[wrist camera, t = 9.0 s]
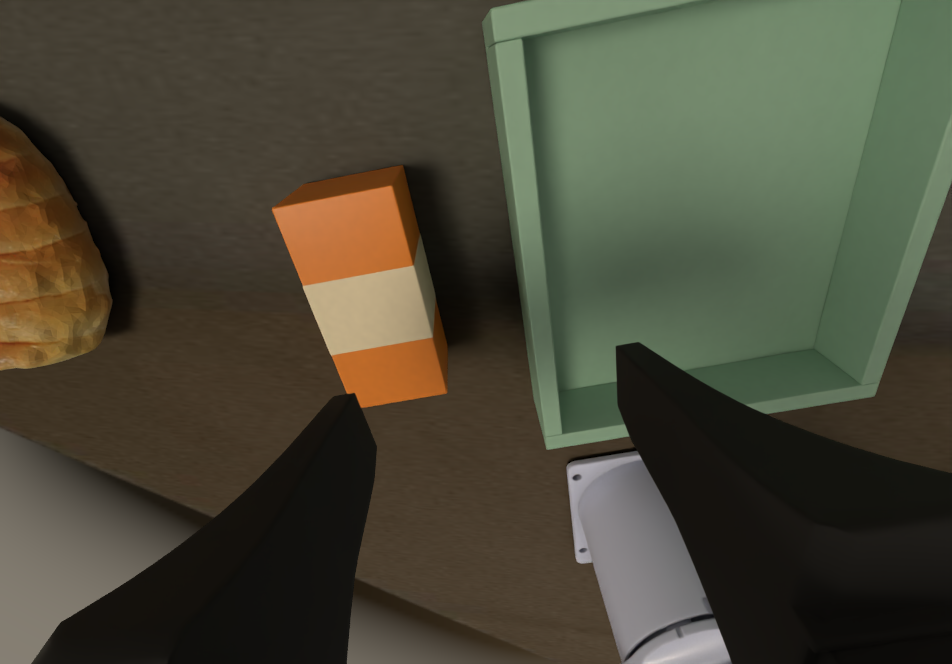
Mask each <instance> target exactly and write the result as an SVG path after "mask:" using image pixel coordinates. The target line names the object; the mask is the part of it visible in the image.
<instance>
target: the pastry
mask: <svg viewBox="0 0 952 664" xmlns="http://www.w3.org/2000/svg"><path fill="white" fill-rule="evenodd" d="M108 278H109V274H108V272H107V270H106V267H105V265H104V263H103V261H102V259H101V256H100V252H99V250H98V248H97V247H96V246H95V244H94V242H93V240H92V236H91V234H90V231H89V229H88V226H87V222H86V221H84V220H83V218H82V217H81V215H80V213H79V211H78V209H77V203H76V202H75V201H74V200H73V198H72V196H71V194H70V192H69V190H68V188H67V186H66V184H65V183H64V181H63V179H62V178H61V177H60V176H59V174H58V173H57V171H56V170H55V168H54V167H53V165H52V163H51V162H50V161H49V160H48V159H46V158H45V157H44V156H43V155H42V154H41V153H40V152H39V150H38V149H37V148H36V147H35V146H34V145H33V144H32V142H31V141H30V140H29V139H28V137H27V136H26V135H25V133H23V132H22V131H21V130H20V129H19V128H18V127H16V126H15V125H13V124H11V123H10V122H8V121H7V120H5V119H3V118H2V117H0V370H5V369H11V368H25V369H28V368H34V367H40V366H44V365H49V364H53V363H58V362H61V361H65V360H68V359H70V358H73V357H76V356H79V355H82V354H85V353H88V352H90V351H92V350H94V349H96V348H97V347H98V345H99V344H100V342H101V341H102V339H103V336H104V334H105V330H106V326H107V322H108V317H109V314H110V310H111V306H112V301H113V300H112V298H111V294H110V291H109V284H108Z"/></svg>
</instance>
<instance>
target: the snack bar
mask: <svg viewBox="0 0 952 664" xmlns="http://www.w3.org/2000/svg"><path fill="white" fill-rule="evenodd" d="M272 211H273V214H274V216H275V219H276V221H277V223H278V226H279V228H280V231H281V233H282V236H283V238H284V241H285V243H286V245H287V248H288V250H289V253H290V255H291V258H292V260H293V263H294V265H295V267H296V270H297V272H298V275H299V277H300V280H301V282H302V284H303V289H304V292H305V294H306V296H307V299H308V301H309V304H310V306H311V309H312V311H313V313H314V316H315V318H316V321H317V323H318V326H319V328H320V331H321V333H322V335H323V338H324V340H325V343H326V345H327V348H328V350H329V352H330V355H332V358H333V360H334V363H335V365H336V368H337V370H338V372H339V375H340V377H341V380H342V382H343V385H344V387H345V389H346V392H347V394H350V393H355V394H356V397H357V399H358V402H359V404H360V406H361V408H364V407H370V406H376V405H382V404H388V403H394V402H400V401H405V400H411V399H417V398H423V397H429V396H435V395H441V394H446V393H447V373H448V346H447V342H446V338H445V334H444V330H443V326H442V321H441V317H440V313H439V309H438V305H437V301H436V295H435V291H434V287H433V283H432V279H431V275H430V271H429V267H428V262H427V258H426V254H425V250H424V246H423V242H422V238H421V234H420V232H419V228H418V224H417V220H416V216H415V212H414V208H413V204H412V200H411V196H410V192H409V188H408V184H407V179H406V175H405V171H404V167H403V165H399V166H394V167H389V168H384V169H379V170H374V171H369V172H363V173H358V174H353V175H348V176H343V177H338V178H333V179H328V180H322V181H317V182H312V183H307V184H303V185H302V186H301V187H299V188H298V189H297V190H295V191H294V192H293V193H292V194H290V195H289V196H288V197H286V198H285V199H284V200H282V201H281V202H280V203H278V204H277V205H276V206H274V207H273V208H272Z"/></svg>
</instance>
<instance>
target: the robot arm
mask: <svg viewBox="0 0 952 664" xmlns="http://www.w3.org/2000/svg"><path fill="white" fill-rule="evenodd" d="M616 376H617V405H618V408H619V410H620V413H621V416H622V418H623V421H624V424H625V426H626V429H627V431H628V434H629V436H630V438H631V440H632V442H633V444H634V446H635V448H636V449H637V451H632V452H626V453H620V454H614V455H608V456H601V457H595V458H589V459H583V460H577V461H572V462H570V463H569V464H568V465H567V478H568V488H569V498H570V508H571V518H572V528H573V538H574V548H575V557H576V560H577V562H579V563H590V562H593V565H594V569H595V572H596V576H597V579H598V582H599V586H600V589H601V593H602V596H603V600H604V603H605V607H606V610H607V614H608V617H609V620H610V624H611V627H612V631H613V634H614V638H615V641H616V645H617V648H618V651H619V655H620V658H621V662H622V663H621V664H952V473H948V472H944V471H940V470H936V469H932V468H928V467H924V466H920V465H915V464H911V463H907V462H903V461H899V460H896V459H892V458H889V457H885V456H882V455H878V454H875V453H872V452H868V451H865V450H862V449H858V448H855V447H852V446H849V445H846V444H843V443H840V442H837V441H833V440H831V439H828V438H825V437H822V436H819V435H817V434H814V433H811V432H809V431H806V430H803V429H800V428H798V427H795V426H793V425H790V424H788V423H785V422H783V421H780V420H778V419H776V418H773V417H771V416H769V415H767V414H764V413H762V412H760V411H758V410H755V409H753V408H751V407H749V406H747V405H745V404H743V403H741V402H738V401H736V400H735V399H733V398H731V397H729V396H727V395H725V394H723V393H721V392H719V391H718V390H716V389H714V388H712V387H710V386H709V385H707V384H705V383H703V382H702V381H700V380H698V379H696V378H695V377H693V376H691V375H690V374H688V373H687V372H685V371H683V370H682V369H680V368H678V367H677V366H675V365H674V364H672V363H671V362H669V361H668V360H666V359H664V358H663V357H661V356H660V355H658V354H657V353H655V352H654V351H652V350H651V349H649V348H648V347H646V346H644V345H643V344H641V343H640V342H635V343H629V344H624V345H618V346H616ZM376 451H377V446H376V443H375V441H374V438H373V436H372V433H371V431H370V429H369V426H368V424H367V421H366V419H365V416H364V414H363V411H362V409H361V406H360V404H359V402H358V399H357V397H356V394H355V393H350V394H345V395H339V396H334V397H333V398H332V399H331V400H330V401H329V402H328V403H327V404H326V405H325V406H324V407H323V408H322V410H321V411H320V412H319V413H318V414H317V415H316V416H315V418H314V419H313V420H312V421H311V422H310V423H309V424H308V426H307V427H306V428H305V429H304V430H303V431H302V432H301V434H300V435H299V436H298V437H297V438H296V439H295V440H294V441H293V443H292V444H291V445H290V446H289V447H288V448H287V449H286V450H285V451H284V452H283V453H282V455H281V456H280V457H279V458H278V459H277V460H276V461H275V462H274V463H273V464H272V465H271V466H270V467H269V468H268V469H267V470H266V471H265V472H264V473H263V474H262V475H261V476H260V477H259V478H258V479H257V480H256V481H255V482H254V483H253V484H252V485H251V486H250V487H249V488H248V489H247V490H246V491H245V492H244V493H243V494H241V495H240V496H239V497H238V498H237V499H236V500H235V501H234V502H232V503H231V504H230V505H229V506H228V507H227V508H226V509H225V510H223V511H222V512H221V513H220V514H219V515H217V516H216V517H215V518H214V519H212V520H211V521H210V522H209V523H207V524H206V525H205V526H203V527H202V528H201V529H200V530H198V531H197V532H196V533H195V534H193V535H192V536H191V537H190V538H188V539H187V540H186V541H185V542H183V543H182V544H181V545H179V546H178V547H176V548H175V549H174V550H172V551H171V552H170V553H168V554H167V555H165V556H164V557H163V558H161V559H160V560H158V561H157V562H156V563H154V564H153V565H151V566H150V567H148V568H147V569H145V570H144V571H142V572H141V573H139V574H138V575H136V576H135V577H134V578H132V579H131V580H129V581H127V582H126V583H124V584H123V585H121V586H120V587H118V588H116V589H115V590H113V591H112V592H110V593H108V594H107V595H105V596H103V597H102V598H100V599H99V600H97V601H95V602H94V603H92V604H90V605H89V606H87V607H86V608H84V609H82V610H81V611H79V612H77V613H76V614H74V615H73V616H71V617H69V618H67V619H66V620H64V621H62V622H61V623H60V624H59V625H58V627H57V628H56V630H55V631H54V633H53V634H52V635H51V637H50V638H49V639H48V641H47V642H46V644H45V645H44V647H43V648H42V649H41V651H40V652H39V654H38V655H37V657H36V658H35V659H34V661H33V662H32V664H347V651H348V639H349V628H350V616H351V607H352V597H353V589H354V580H355V572H356V566H357V560H358V555H359V550H360V546H361V541H362V536H363V532H364V527H365V523H366V518H367V513H368V509H369V504H370V499H371V494H372V489H373V484H374V478H375V467H376ZM577 474H578V475H577Z"/></svg>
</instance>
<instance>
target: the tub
mask: <svg viewBox="0 0 952 664" xmlns="http://www.w3.org/2000/svg"><path fill="white" fill-rule="evenodd" d="M482 26H483V34H484V41H485V48H486V55H487V63H488V70H489V77H490V84H491V92H492V99H493V106H494V113H495V121H496V128H497V135H498V142H499V150H500V157H501V164H502V171H503V179H504V186H505V193H506V200H507V208H508V215H509V222H510V229H511V237H512V244H513V251H514V258H515V266H516V273H517V280H518V287H519V295H520V302H521V309H522V316H523V324H524V331H525V338H526V345H527V353H528V360H529V367H530V374H531V381H532V389H533V396H534V402H535V406H536V410H537V414H538V417H539V421H540V425H541V429H542V433H543V437H544V441H545V445H546V449H547V450H548V449H555V448H561V447H567V446H573V445H579V444H585V443H591V442H598V441H604V440H610V439H616V438H622V437H628V436H629V434H628V431H627V429H626V426H625V424H624V421H623V418H622V416H621V413H620V410H619V408H618V405H617V376H616V346H618V345H624V344H629V343H635V342H640V343H641V344H643V345H644V346H646V347H648V348H649V349H651V350H652V351H654V352H655V353H657V354H658V355H660V356H661V357H663V358H664V359H666V360H668V361H669V362H671V363H672V364H674V365H675V366H677V367H678V368H680V369H682V370H683V371H685V372H687V373H688V374H690V375H691V376H693V377H695V378H696V379H698V380H700V381H702V382H703V383H705V384H707V385H709V386H710V387H712V388H714V389H716V390H718V391H719V392H721V393H723V394H725V395H727V396H729V397H731V398H733V399H735V400H736V401H738V402H741V403H743V404H745V405H747V406H749V407H751V408H753V409H755V410H758V411H760V412H762V413H764V414H769V413H776V412H782V411H788V410H794V409H800V408H806V407H812V406H819V405H825V404H831V403H837V402H843V401H849V400H855V399H862V398H868V397H874V396H875V394H876V391H877V388H878V385H879V381H880V379H881V376H882V373H883V371H884V368H885V365H886V362H887V360H888V357H889V354H890V351H891V348H892V346H893V343H894V340H895V337H896V335H897V332H898V329H899V326H900V323H901V321H902V318H903V315H904V312H905V310H906V307H907V304H908V301H909V298H910V296H911V293H912V290H913V287H914V285H915V282H916V279H917V276H918V274H919V271H920V268H921V265H922V262H923V260H924V257H925V254H926V251H927V249H928V246H929V243H930V240H931V237H932V235H933V232H934V229H935V226H936V224H937V221H938V218H939V215H940V212H941V210H942V207H943V204H944V201H945V199H946V196H947V193H948V190H949V187H950V185H951V182H952V0H528V1H523V2H518V3H513V4H509V5H504V6H499V7H494V8H492V9H490V11H489V13H488V14H487V16H486V17H485V19H484V20H483V21H482Z"/></svg>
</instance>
